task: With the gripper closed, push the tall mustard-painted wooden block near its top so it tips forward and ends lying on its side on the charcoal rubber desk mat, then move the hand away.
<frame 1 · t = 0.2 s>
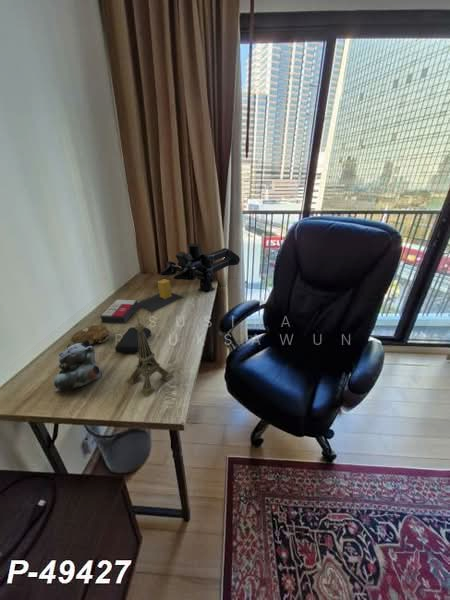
hand: (167, 276, 117), 17 cm above the table, tool horizontal, fingers open, 9 cm apart
red and white box: (121, 314, 120), on the table
eiffel tower: (150, 378, 82), on the table
carrying case: (135, 342, 100), on the table
decorative rock: (94, 338, 103), on the table
mat: (159, 301, 131), on the table
block: (165, 296, 134), resting on mat
grey lumpy figure: (79, 380, 82), on the table
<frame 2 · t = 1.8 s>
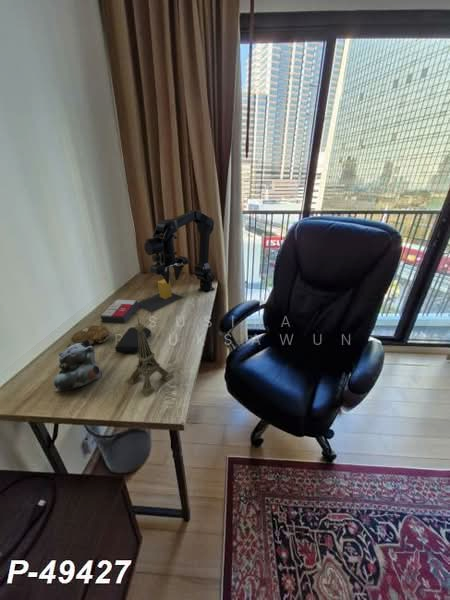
hand: (172, 281, 120), 13 cm above the table, tool pointing down, fingers open, 5 cm apart
nothing on the table moved.
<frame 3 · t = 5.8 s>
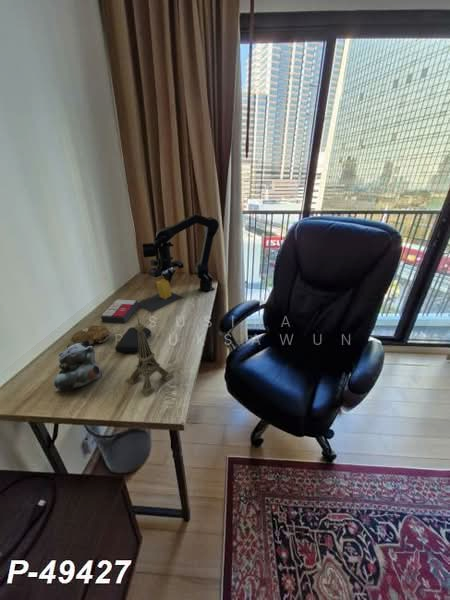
hand: (168, 283, 133), 7 cm above the table, tool pointing down, fingers closed
block: (165, 296, 134), point 1 cm above the table, tilted 6°, touching gripper, mat
everything else where it was.
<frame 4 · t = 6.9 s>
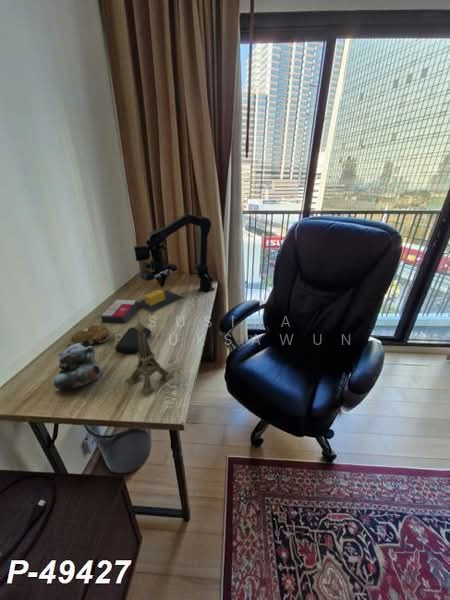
hand: (161, 287, 130), 7 cm above the table, tool pointing down, fingers closed
block: (162, 294, 132), point 3 cm above the table, tilted 90°, touching mat
everything else where it was.
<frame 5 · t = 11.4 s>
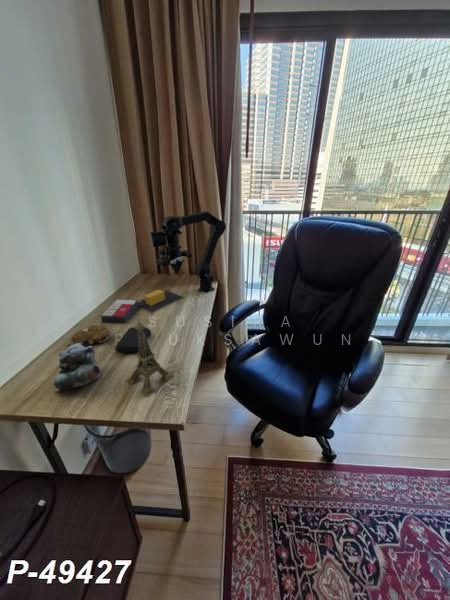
hand: (176, 273, 129), 13 cm above the table, tool pointing down, fingers closed
nothing on the table moved.
at the end: block tilted 90°; block inside the target area on the mat (3.4 cm from its centre), point 2.6 cm above the mat's base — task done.
